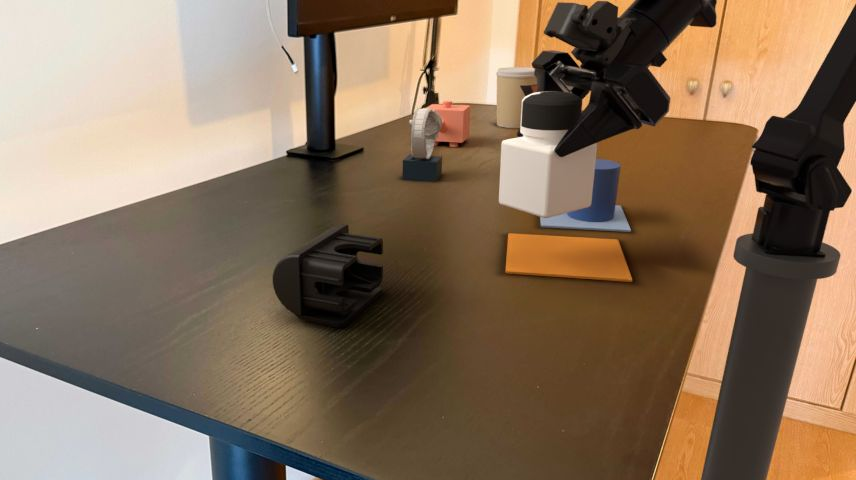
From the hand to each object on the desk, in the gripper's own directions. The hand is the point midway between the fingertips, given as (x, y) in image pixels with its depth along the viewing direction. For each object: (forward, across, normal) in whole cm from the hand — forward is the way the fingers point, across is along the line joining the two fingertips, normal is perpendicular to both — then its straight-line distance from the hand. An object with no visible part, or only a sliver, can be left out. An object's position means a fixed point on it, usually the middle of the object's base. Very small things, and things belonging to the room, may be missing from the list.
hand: (537, 145), depth 74 cm
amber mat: (+6, -1, +13) cm, 14 cm away
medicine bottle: (+4, 0, +6) cm, 7 cm away
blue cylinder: (-2, -14, +20) cm, 24 cm away
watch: (+9, -41, +10) cm, 43 cm away
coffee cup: (-15, -80, +35) cm, 88 cm away
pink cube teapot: (0, -64, +19) cm, 67 cm away
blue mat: (-1, -14, +20) cm, 24 cm away
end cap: (+26, +5, -7) cm, 28 cm away
